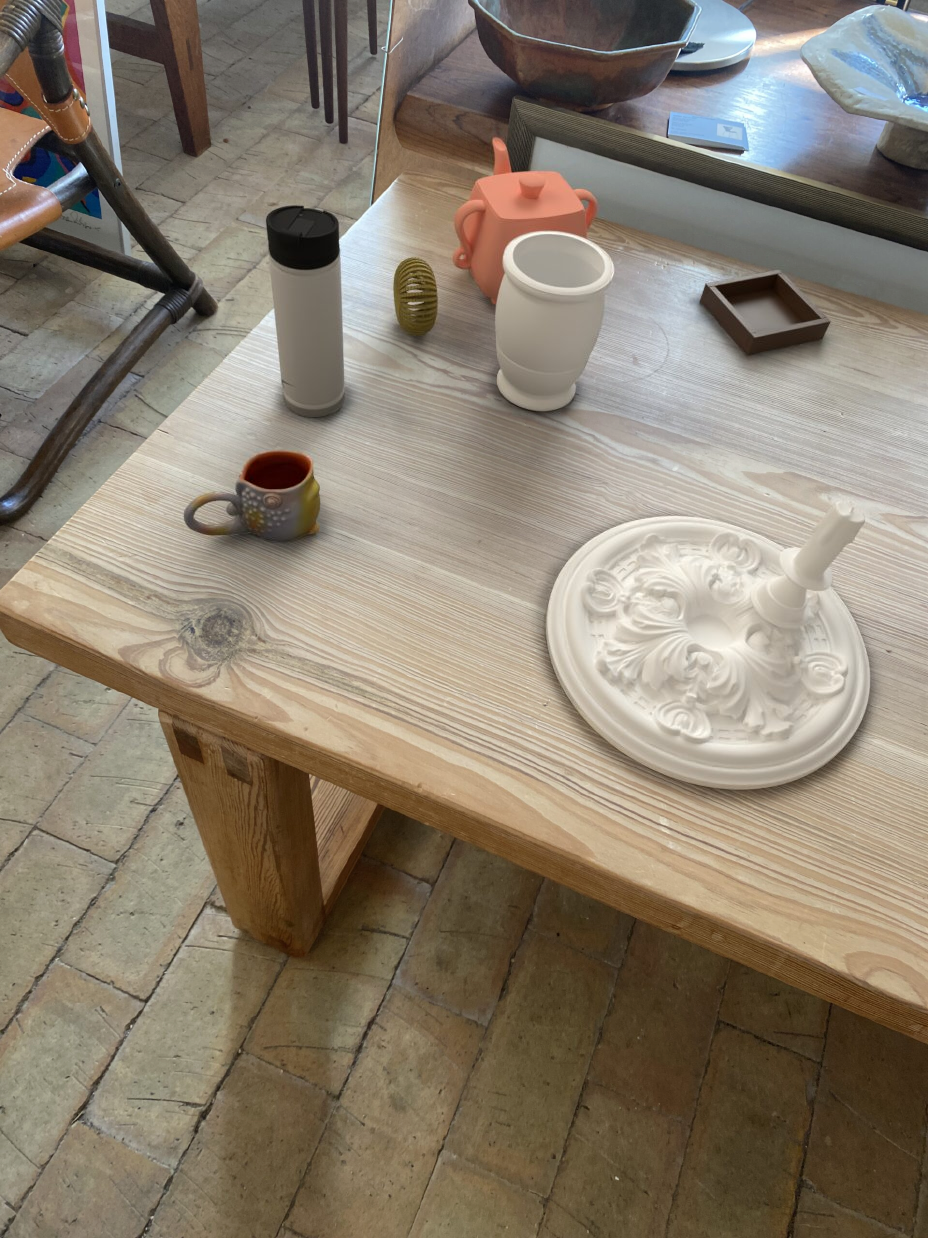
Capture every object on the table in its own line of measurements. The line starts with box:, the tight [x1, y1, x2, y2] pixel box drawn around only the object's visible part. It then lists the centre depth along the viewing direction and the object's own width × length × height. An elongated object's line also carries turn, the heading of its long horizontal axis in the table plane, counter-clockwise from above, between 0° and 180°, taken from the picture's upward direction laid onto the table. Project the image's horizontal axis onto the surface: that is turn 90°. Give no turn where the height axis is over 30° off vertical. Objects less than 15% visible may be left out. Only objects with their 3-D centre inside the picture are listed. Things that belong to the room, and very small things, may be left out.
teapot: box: [452, 137, 599, 306], centre depth 103 cm, size 15×17×13 cm
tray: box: [699, 269, 832, 357], centre depth 107 cm, size 11×11×2 cm
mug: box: [183, 449, 321, 543], centre depth 80 cm, size 12×7×7 cm, turn 113°
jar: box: [494, 231, 615, 412], centre depth 91 cm, size 11×10×15 cm
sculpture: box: [392, 256, 439, 337], centre depth 98 cm, size 8×4×8 cm, turn 13°
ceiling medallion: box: [545, 515, 871, 791], centre depth 78 cm, size 28×28×3 cm
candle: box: [750, 500, 866, 629], centre depth 74 cm, size 5×5×12 cm
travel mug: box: [265, 204, 346, 418], centre depth 85 cm, size 6×7×20 cm
